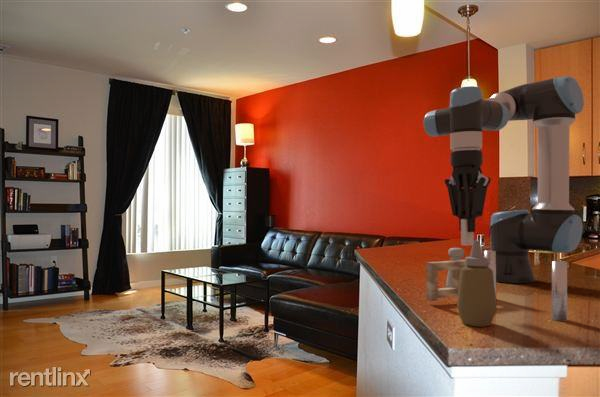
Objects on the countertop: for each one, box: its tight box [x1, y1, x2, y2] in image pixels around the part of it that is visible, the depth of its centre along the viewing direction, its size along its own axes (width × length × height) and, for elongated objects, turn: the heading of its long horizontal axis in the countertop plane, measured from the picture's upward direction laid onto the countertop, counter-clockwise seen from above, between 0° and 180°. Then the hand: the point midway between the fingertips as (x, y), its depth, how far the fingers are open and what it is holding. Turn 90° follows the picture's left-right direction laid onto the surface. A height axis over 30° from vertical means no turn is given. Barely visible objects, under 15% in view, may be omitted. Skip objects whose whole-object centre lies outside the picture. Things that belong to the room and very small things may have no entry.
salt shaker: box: [445, 247, 465, 288], centre depth 129 cm, size 6×6×13 cm
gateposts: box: [483, 249, 568, 322], centre depth 112 cm, size 25×3×13 cm, turn 18°
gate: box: [425, 259, 487, 302], centre depth 118 cm, size 18×2×10 cm, turn 111°
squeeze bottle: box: [456, 240, 497, 328], centre depth 98 cm, size 8×8×18 cm
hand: (467, 244), depth 113 cm, fingers closed
